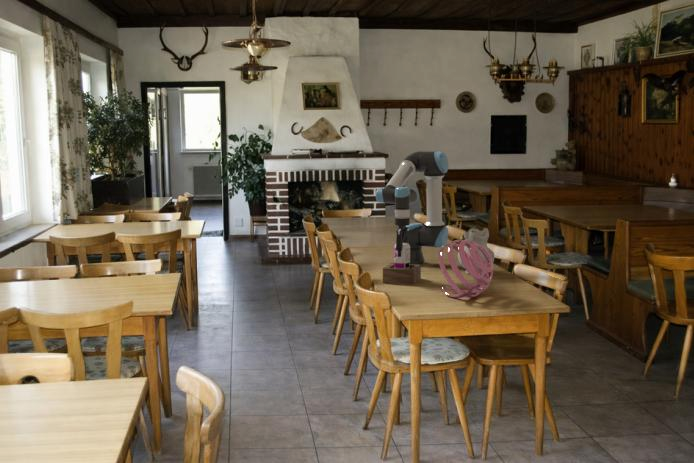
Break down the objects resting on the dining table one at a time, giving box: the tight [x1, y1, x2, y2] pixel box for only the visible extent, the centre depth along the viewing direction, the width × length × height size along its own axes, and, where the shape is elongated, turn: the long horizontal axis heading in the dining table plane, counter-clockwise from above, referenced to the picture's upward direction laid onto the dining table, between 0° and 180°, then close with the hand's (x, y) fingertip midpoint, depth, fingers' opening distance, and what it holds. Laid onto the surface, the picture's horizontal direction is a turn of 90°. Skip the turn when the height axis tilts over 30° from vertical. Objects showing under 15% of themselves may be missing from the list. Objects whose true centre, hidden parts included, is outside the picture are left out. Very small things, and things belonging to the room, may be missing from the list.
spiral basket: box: [438, 239, 494, 299], centre depth 357 cm, size 28×28×27 cm
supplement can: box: [393, 242, 410, 269], centre depth 392 cm, size 8×8×15 cm
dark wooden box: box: [382, 262, 422, 286], centre depth 393 cm, size 16×16×8 cm
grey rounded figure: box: [457, 227, 495, 275], centre depth 411 cm, size 22×20×25 cm
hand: (402, 261), depth 393 cm, fingers closed on supplement can, 8 cm apart
